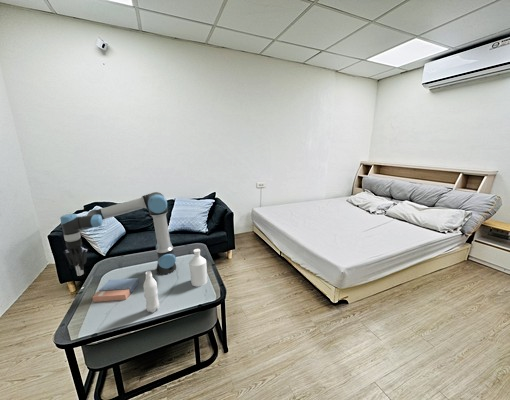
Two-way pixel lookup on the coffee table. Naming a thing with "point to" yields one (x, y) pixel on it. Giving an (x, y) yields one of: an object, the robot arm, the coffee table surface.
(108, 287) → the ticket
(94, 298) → the orange rectangular block
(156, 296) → the water bottle
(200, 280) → the bottle
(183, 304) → the coffee table surface
